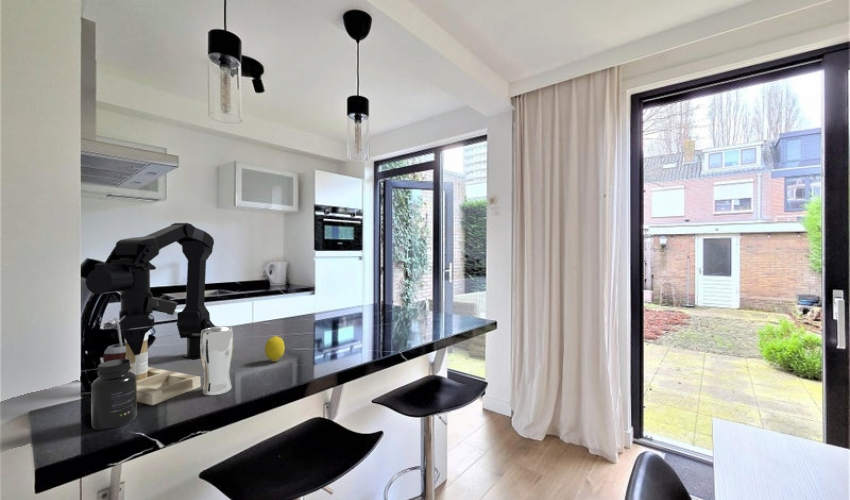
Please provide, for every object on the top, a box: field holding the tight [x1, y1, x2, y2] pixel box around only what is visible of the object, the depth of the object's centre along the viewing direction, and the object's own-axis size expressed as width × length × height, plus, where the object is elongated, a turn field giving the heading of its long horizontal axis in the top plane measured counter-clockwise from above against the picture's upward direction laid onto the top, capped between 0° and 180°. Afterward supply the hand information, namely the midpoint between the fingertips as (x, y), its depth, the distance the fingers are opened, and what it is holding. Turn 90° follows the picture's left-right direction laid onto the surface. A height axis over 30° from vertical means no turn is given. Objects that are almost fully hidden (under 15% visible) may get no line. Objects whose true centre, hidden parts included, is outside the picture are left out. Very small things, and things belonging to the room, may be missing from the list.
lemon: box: [264, 335, 286, 363], centre depth 106 cm, size 6×6×8 cm
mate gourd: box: [102, 317, 126, 363], centre depth 96 cm, size 8×8×15 cm
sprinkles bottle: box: [124, 331, 149, 381], centre depth 88 cm, size 5×5×14 cm
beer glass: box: [200, 325, 234, 397], centre depth 85 cm, size 7×7×15 cm
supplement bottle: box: [90, 359, 138, 431], centre depth 69 cm, size 7×7×12 cm
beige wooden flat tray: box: [137, 366, 201, 406], centre depth 86 cm, size 21×11×3 cm, turn 69°
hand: (136, 350), depth 87 cm, fingers open, 9 cm apart
